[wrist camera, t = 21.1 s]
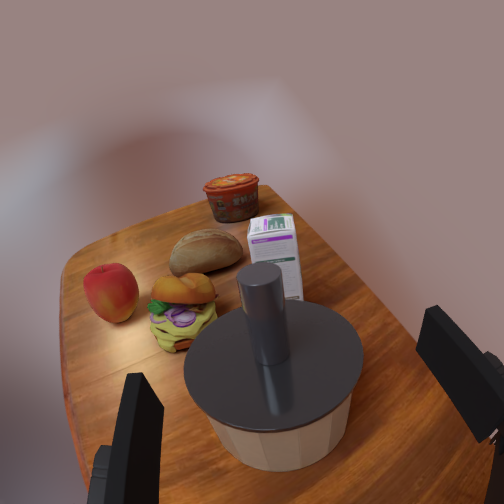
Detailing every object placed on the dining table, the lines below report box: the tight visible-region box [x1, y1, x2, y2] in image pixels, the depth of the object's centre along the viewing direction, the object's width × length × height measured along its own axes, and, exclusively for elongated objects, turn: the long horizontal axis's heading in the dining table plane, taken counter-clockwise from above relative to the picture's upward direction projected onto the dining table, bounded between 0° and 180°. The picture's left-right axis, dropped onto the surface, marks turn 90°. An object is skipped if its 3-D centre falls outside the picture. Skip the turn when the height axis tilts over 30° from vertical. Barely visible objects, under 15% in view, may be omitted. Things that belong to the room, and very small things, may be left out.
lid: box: [184, 262, 364, 433], centre depth 21 cm, size 15×15×9 cm
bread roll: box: [169, 229, 243, 278], centre depth 57 cm, size 10×15×8 cm, turn 108°
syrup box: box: [247, 214, 304, 301], centre depth 39 cm, size 6×6×14 cm
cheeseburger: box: [147, 273, 219, 353], centre depth 41 cm, size 10×11×10 cm
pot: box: [206, 391, 353, 472], centre depth 25 cm, size 14×14×10 cm
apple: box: [83, 263, 139, 323], centre depth 45 cm, size 10×10×10 cm
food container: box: [203, 173, 259, 223], centre depth 83 cm, size 16×16×11 cm
